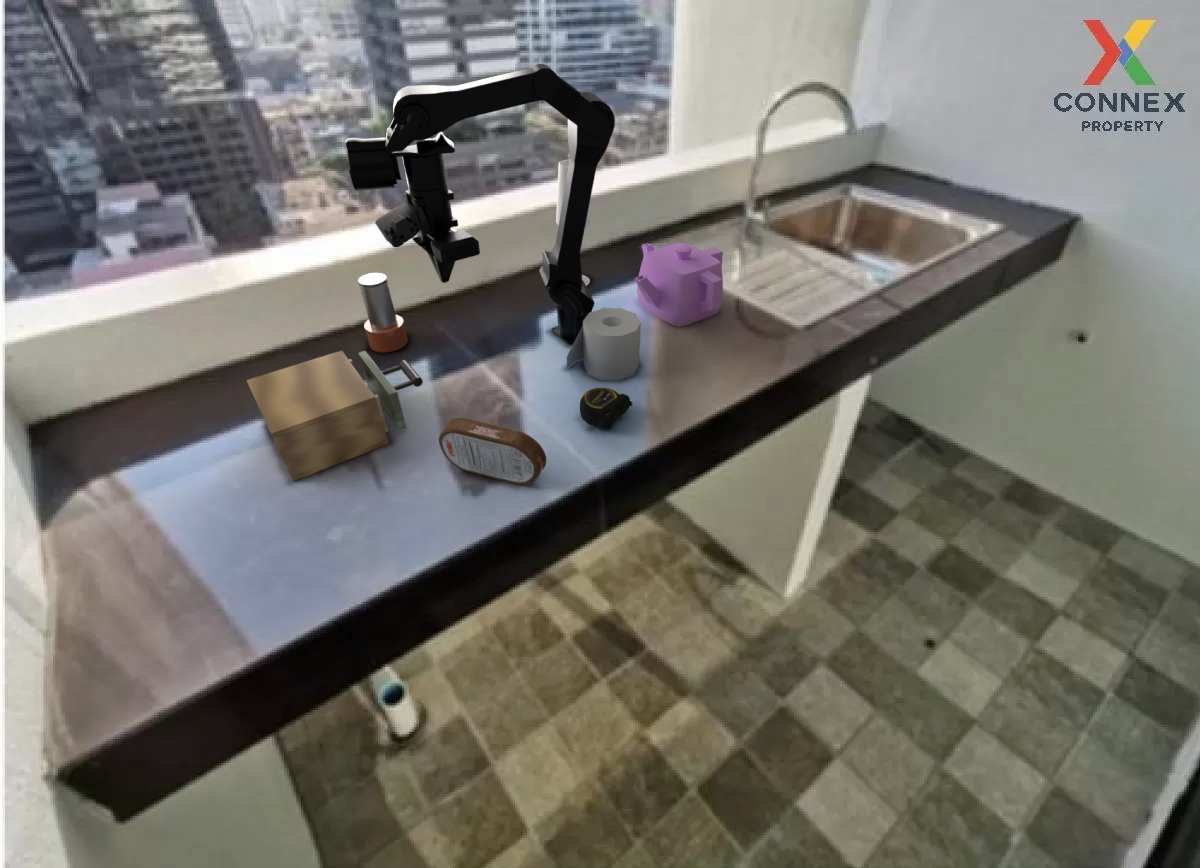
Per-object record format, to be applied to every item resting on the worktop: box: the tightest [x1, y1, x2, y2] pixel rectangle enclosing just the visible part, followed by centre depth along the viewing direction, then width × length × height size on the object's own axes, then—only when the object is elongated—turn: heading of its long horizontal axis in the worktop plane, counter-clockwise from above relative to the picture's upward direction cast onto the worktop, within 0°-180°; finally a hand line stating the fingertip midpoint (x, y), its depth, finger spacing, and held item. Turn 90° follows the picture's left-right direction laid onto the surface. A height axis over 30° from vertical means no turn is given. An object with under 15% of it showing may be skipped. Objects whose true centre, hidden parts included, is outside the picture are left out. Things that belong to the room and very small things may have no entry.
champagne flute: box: [555, 158, 591, 287], centre depth 121 cm, size 7×7×24 cm
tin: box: [438, 416, 547, 486], centre depth 81 cm, size 15×3×8 cm, turn 71°
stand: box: [363, 314, 409, 353], centre depth 109 cm, size 7×7×4 cm
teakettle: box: [634, 242, 724, 328], centre depth 117 cm, size 17×17×12 cm
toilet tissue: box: [566, 307, 642, 382], centre depth 101 cm, size 9×13×9 cm
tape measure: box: [579, 387, 634, 430], centre depth 92 cm, size 7×7×4 cm
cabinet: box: [246, 350, 390, 482], centre depth 87 cm, size 14×15×9 cm
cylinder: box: [357, 272, 397, 330], centre depth 105 cm, size 5×5×8 cm
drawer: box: [348, 350, 424, 433], centre depth 90 cm, size 17×13×7 cm
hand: (444, 281), depth 100 cm, fingers closed
